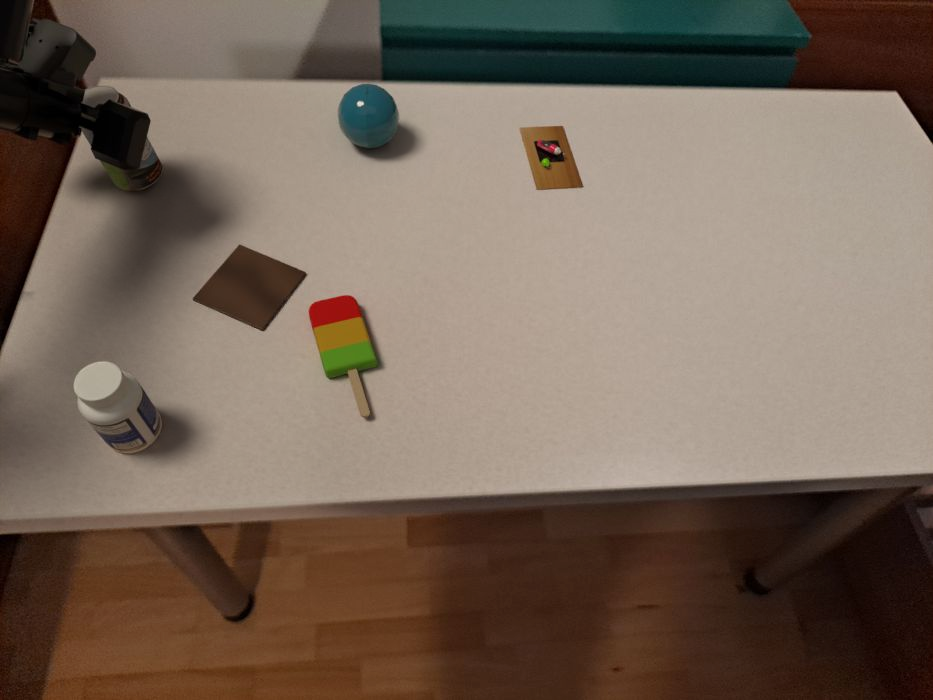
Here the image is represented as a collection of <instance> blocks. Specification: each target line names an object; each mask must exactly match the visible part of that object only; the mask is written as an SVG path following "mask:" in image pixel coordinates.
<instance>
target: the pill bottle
mask: <svg viewBox="0 0 933 700" xmlns="http://www.w3.org/2000/svg"><path fill="white" fill-rule="evenodd" d="M73 390H74V393H75V394H76V396H77V400H76V402H77V408H78V411H79V413H80V415H81V416H82V417H83V418H84V419H85V420H86V422H87V423H88V424H89V426H90V427H92V429H93V430H94V431H95V432H96V433H97V434H98V436H99V437H100V438H101V439H102V440H103V441H104V443H105V444H106V445H108V446H109V448H111V449H112V450H113V451H115V452H118V453H122V454H133V453H138V452H141V451H143V450H145V449H147V448H148V447H150V446H151V445H153V443H154V442H155V441H156V440H157V439H158V437H159V435H160V434H161V431H162V427H163V420H162V416H161V414H160V413H159V411H158V409H157V407H156V406H155V405H154V403H153V402H152V401H151V398H150V397H149V395H148V394H147V392H146V390H145V389H144V388H143V386H142V385H141V383H140V382H139V380H138V379H137V378H136V377H135V376H134V375H133V374H130V373H129V372H127V371H124V370H121V368H120V367H119V366H118V365H117V364H115V363H113V362H111V361H96V362H93V363H92V362H91V363H89V364H88V365H86V366H84V367H83V368H82V369H80V370H79V372H78V373H77V374H76V376H75V378H74V381H73Z"/></svg>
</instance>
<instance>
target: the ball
mask: <svg viewBox="0 0 933 700" xmlns="http://www.w3.org/2000/svg"><path fill="white" fill-rule="evenodd" d="M337 121H338V125H339V129H340V130H341V133H342V134H343V135H344V136H345V137H346V138H347V140H348V141H349V142H350V143H352V144H353V145H355V146H358V147H359V148H364V149H377V148H380V147H382V146H384V145H386V144H387V143H388V142H390V141H391V140H392V139H393V137H395V135H396V132H397V131H398V127H399V124H400V112H399V108H398V105H397V102H396V100H395V99H394V97H393V96H392V95H391V94H390V93H389V92H388V90H386V89H385V88H384V87H381V86H380V85H377V84H373V83H361V84H358V85H355V86H353V87H351V88H350V89H349V90H347V91H346V92H345V93H344V94H343V96H342V98H341V100H340V102H339V104H338V107H337Z"/></svg>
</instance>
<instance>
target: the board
mask: <svg viewBox="0 0 933 700" xmlns="http://www.w3.org/2000/svg"><path fill="white" fill-rule="evenodd" d="M519 132H520V136H521V139H522V143H523V147H524V149H525V153H526V156H527V161H528V164H529V169H530V171H531V174H532V178H533V181H534V185H535V187H536V188H535V189H536V191H537V190H538V191H539V190H541V191H542V190H558V189H574V188H576V189H577V188H578V189H579V188H583V187H584V184H583V182H582V179H581V175H580V173H579V170H578V167H577V165H576V161H575V157H574V155H573V152H572V150H571V149H572V148H571V146H570V143H569V140H568V138H567V134H566V132H565V128H564V126H563V125H549V126H545V125H544V126H521V127H520V126H519Z"/></svg>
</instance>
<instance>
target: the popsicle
mask: <svg viewBox="0 0 933 700" xmlns="http://www.w3.org/2000/svg"><path fill="white" fill-rule="evenodd" d="M308 316H309V322H310V324H311V325H310V326H311V328H312V331H313V335H314V339H315V342H316V343H315V344H316V347H317V350H318V354H319V357H320V361H321V365H322V367H323V372H324V375H325V377H326V378H327V379H333V378H335V377H339V376H343V375H348V378H349V381H350V385H351V388H352V392H353V395H354V398H355V402H356V405H357V409H358V412H359V414H360V416H361V417H362V418H367V417H369V416H370V414H371V411H370V408H369V405H368V401H367V398H366V395H365V392H364V388H363V385H362V381H361V379H360V376H359V372H360V371H363V370H367V369H371V368H376V367H378V361H377V356H376V353H375V351H374V348H373V345H372V342H371V338H370V336H369V332H368V330H367V326H366V323H365V321H364V320H365V319H364V317H363V315H362V311H361V308H360V305H359V303H358V301H357V299H356V298H355V297H354V296H352V295H350V294H349V295H348V294H345V295H344V294H343V295H338V296H333V297H330V298H327V299H321V300H317V301H315V302H313V303H311V304H310V306H309V308H308Z"/></svg>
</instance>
